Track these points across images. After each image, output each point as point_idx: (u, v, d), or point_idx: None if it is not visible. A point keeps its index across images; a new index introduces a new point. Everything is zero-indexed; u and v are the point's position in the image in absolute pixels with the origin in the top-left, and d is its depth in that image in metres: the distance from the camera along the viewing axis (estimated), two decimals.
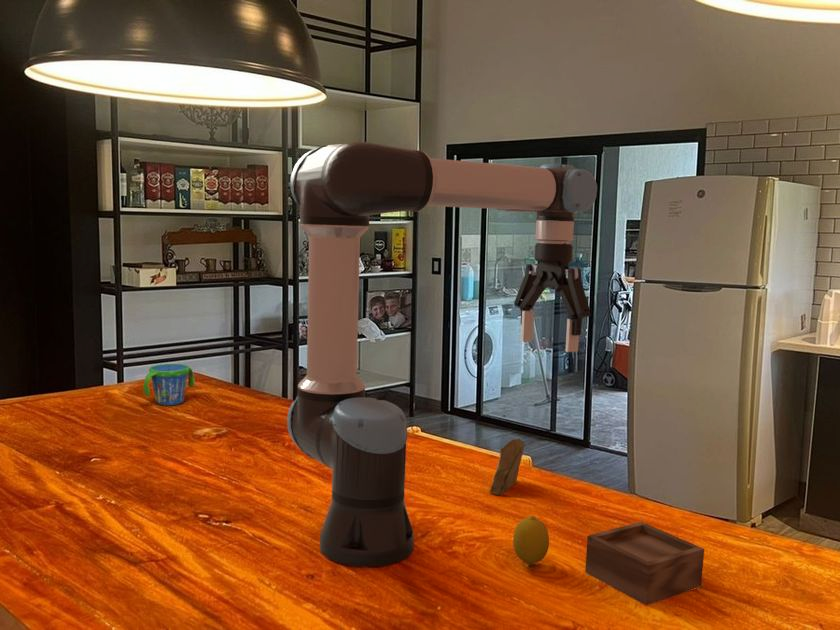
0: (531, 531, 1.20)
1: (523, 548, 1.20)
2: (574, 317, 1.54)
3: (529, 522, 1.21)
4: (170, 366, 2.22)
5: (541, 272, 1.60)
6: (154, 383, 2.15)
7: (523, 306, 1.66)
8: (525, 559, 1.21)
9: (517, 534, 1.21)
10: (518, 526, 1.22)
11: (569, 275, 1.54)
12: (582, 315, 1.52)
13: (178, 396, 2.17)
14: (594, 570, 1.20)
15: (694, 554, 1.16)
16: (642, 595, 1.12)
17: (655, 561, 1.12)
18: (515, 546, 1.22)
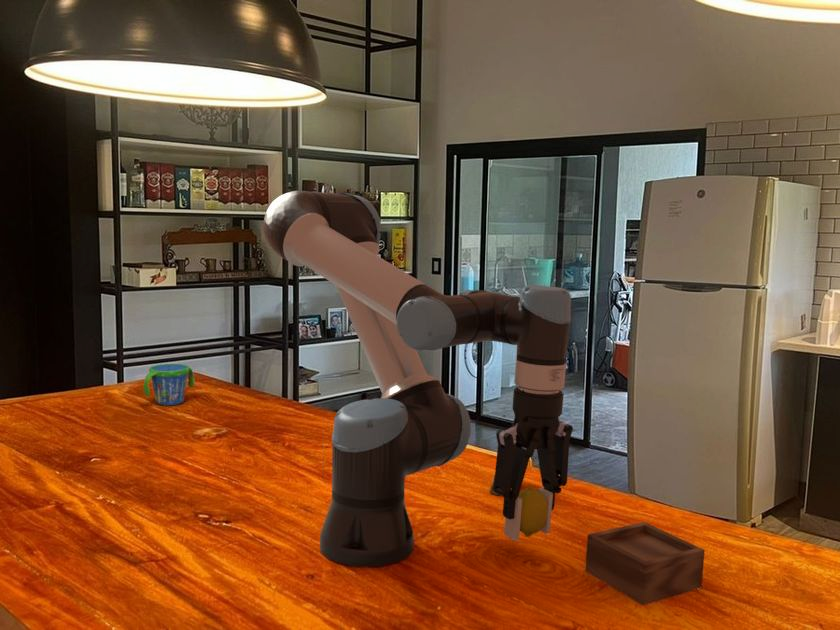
0: (530, 502, 1.20)
1: (521, 518, 1.20)
2: None
3: (528, 493, 1.21)
4: (170, 366, 2.22)
5: None
6: (154, 383, 2.15)
7: None
8: (523, 529, 1.21)
9: None
10: None
11: None
12: (495, 491, 1.19)
13: (178, 396, 2.17)
14: (593, 569, 1.20)
15: (693, 555, 1.16)
16: (639, 594, 1.12)
17: (653, 561, 1.12)
18: None
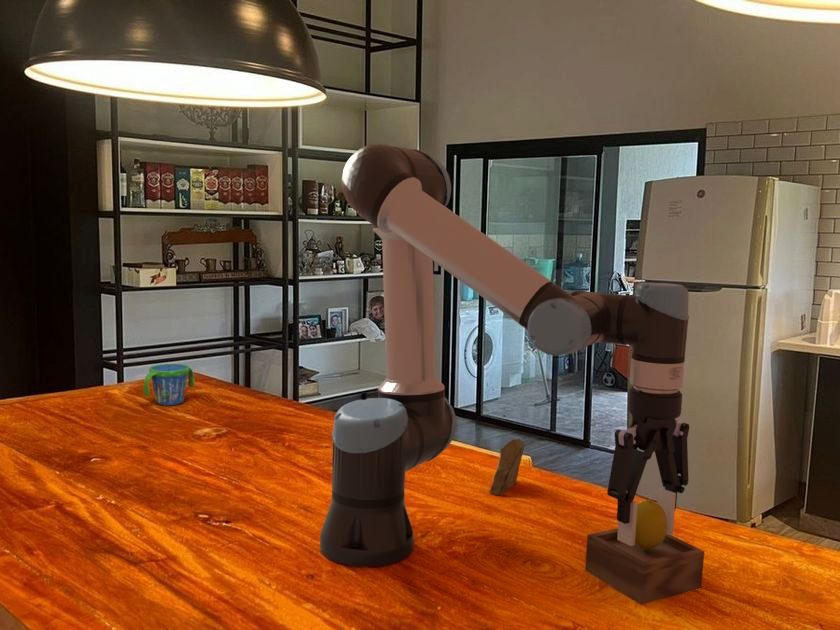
0: (651, 515, 1.16)
1: (641, 532, 1.16)
2: None
3: (647, 505, 1.17)
4: (170, 366, 2.22)
5: None
6: (154, 383, 2.15)
7: None
8: (643, 543, 1.17)
9: None
10: None
11: None
12: (609, 494, 1.14)
13: (178, 396, 2.17)
14: (593, 569, 1.20)
15: (693, 556, 1.15)
16: (637, 595, 1.12)
17: (651, 561, 1.12)
18: None
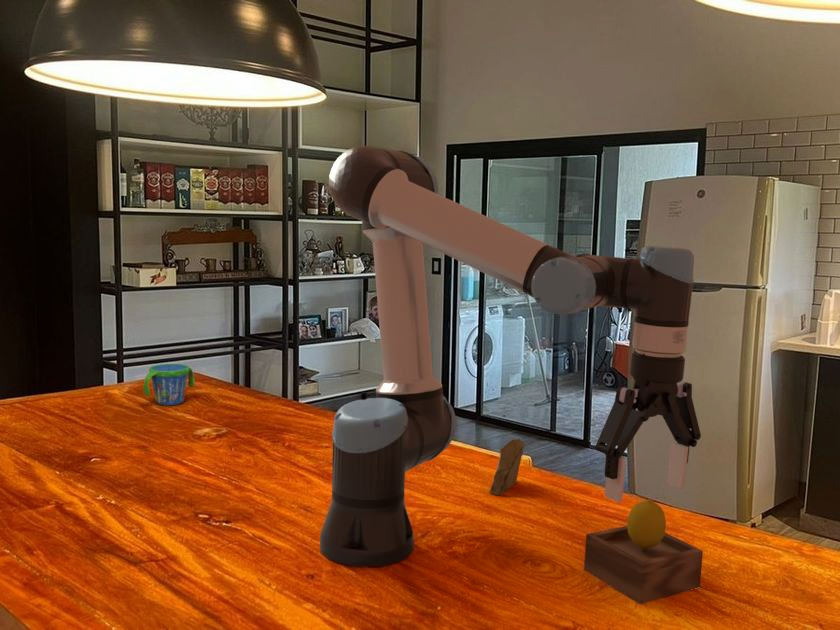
0: (650, 515, 1.16)
1: (640, 532, 1.16)
2: None
3: (647, 506, 1.17)
4: (170, 366, 2.22)
5: None
6: (154, 383, 2.15)
7: None
8: (641, 543, 1.17)
9: (633, 518, 1.17)
10: (634, 509, 1.18)
11: None
12: (597, 449, 1.12)
13: (178, 396, 2.17)
14: (591, 568, 1.20)
15: (691, 556, 1.16)
16: (636, 594, 1.12)
17: (650, 561, 1.12)
18: (631, 529, 1.18)
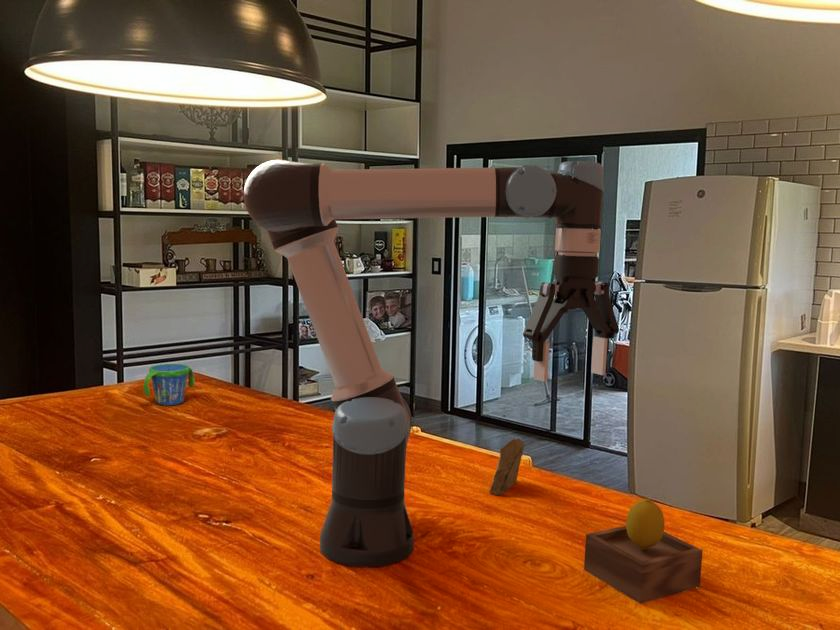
0: (648, 514, 1.16)
1: (639, 531, 1.16)
2: (531, 338, 1.32)
3: (644, 505, 1.17)
4: (170, 366, 2.22)
5: None
6: (154, 383, 2.15)
7: None
8: (640, 542, 1.17)
9: (632, 517, 1.18)
10: (633, 509, 1.18)
11: None
12: (524, 335, 1.31)
13: (178, 396, 2.17)
14: (591, 569, 1.21)
15: (691, 555, 1.16)
16: (637, 594, 1.12)
17: (650, 561, 1.12)
18: (630, 529, 1.18)
